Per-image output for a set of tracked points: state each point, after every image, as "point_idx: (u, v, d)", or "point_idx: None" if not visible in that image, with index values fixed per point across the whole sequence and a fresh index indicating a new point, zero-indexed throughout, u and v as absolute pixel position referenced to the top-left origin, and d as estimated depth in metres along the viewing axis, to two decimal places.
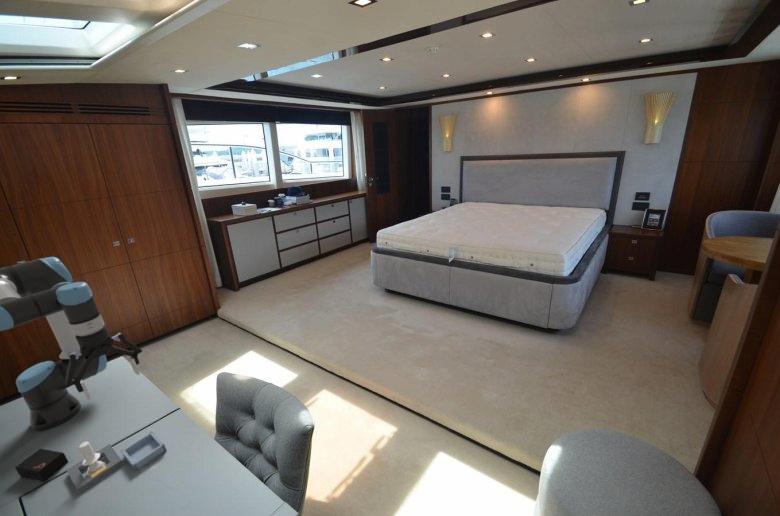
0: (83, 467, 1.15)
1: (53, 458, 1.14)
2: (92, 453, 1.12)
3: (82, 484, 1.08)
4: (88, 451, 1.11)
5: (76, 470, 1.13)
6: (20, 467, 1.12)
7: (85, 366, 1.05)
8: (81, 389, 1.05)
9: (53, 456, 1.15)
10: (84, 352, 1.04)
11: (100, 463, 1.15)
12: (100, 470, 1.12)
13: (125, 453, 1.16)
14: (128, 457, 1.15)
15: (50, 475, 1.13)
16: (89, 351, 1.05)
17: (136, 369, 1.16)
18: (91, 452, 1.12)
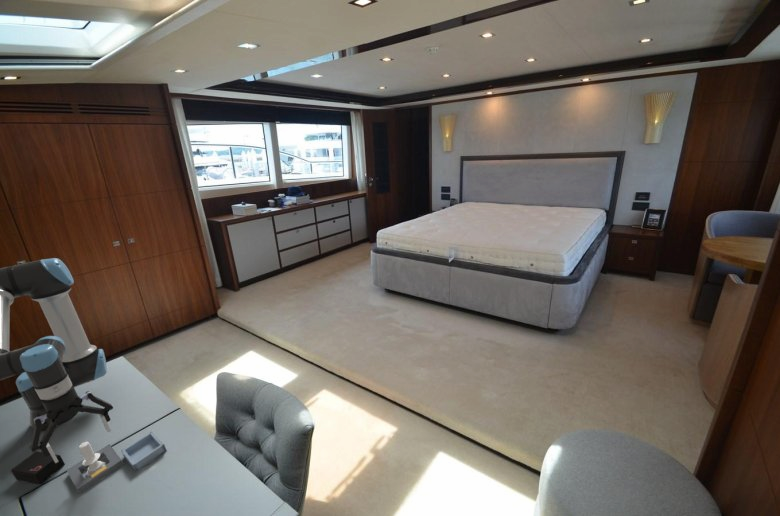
0: (83, 467, 1.15)
1: (49, 461, 1.14)
2: (92, 453, 1.12)
3: (82, 484, 1.08)
4: (88, 451, 1.11)
5: (76, 470, 1.13)
6: (16, 470, 1.11)
7: (51, 429, 1.03)
8: (47, 453, 1.03)
9: (49, 458, 1.14)
10: (50, 415, 1.02)
11: (100, 463, 1.15)
12: (100, 470, 1.12)
13: (125, 453, 1.16)
14: (128, 457, 1.15)
15: (46, 478, 1.12)
16: (56, 414, 1.03)
17: (107, 426, 1.14)
18: (91, 452, 1.12)
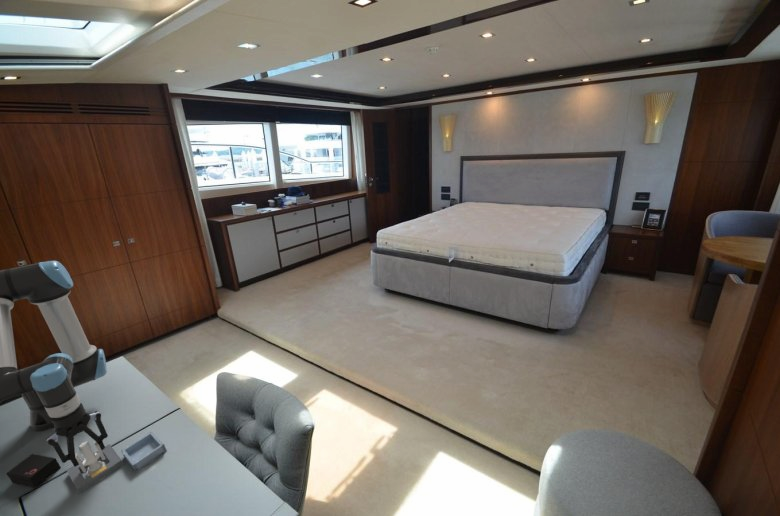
0: None
1: (45, 464, 1.12)
2: (92, 453, 1.12)
3: (82, 484, 1.08)
4: (88, 451, 1.11)
5: (76, 470, 1.13)
6: (11, 473, 1.10)
7: (71, 444, 1.07)
8: (76, 463, 1.09)
9: (45, 462, 1.13)
10: (60, 433, 1.05)
11: (100, 463, 1.15)
12: (100, 470, 1.12)
13: (125, 453, 1.16)
14: (128, 457, 1.15)
15: (41, 481, 1.11)
16: (64, 430, 1.05)
17: (101, 455, 1.14)
18: (91, 452, 1.12)
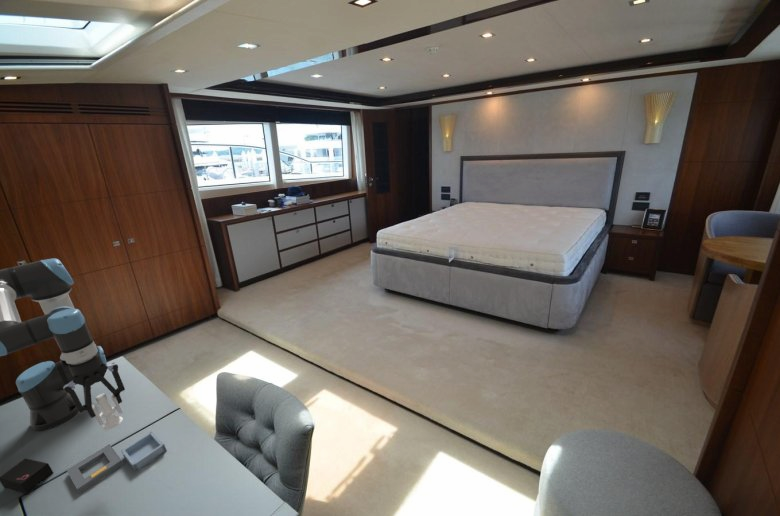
0: (83, 467, 1.15)
1: (37, 469, 1.11)
2: (109, 406, 1.09)
3: (82, 484, 1.08)
4: (105, 403, 1.08)
5: (76, 470, 1.13)
6: (3, 478, 1.09)
7: (87, 393, 1.04)
8: (93, 414, 1.06)
9: (37, 467, 1.12)
10: (77, 381, 1.02)
11: (117, 417, 1.12)
12: (100, 470, 1.12)
13: (125, 453, 1.16)
14: (128, 457, 1.15)
15: (33, 487, 1.09)
16: (81, 378, 1.02)
17: (118, 408, 1.11)
18: (108, 404, 1.09)
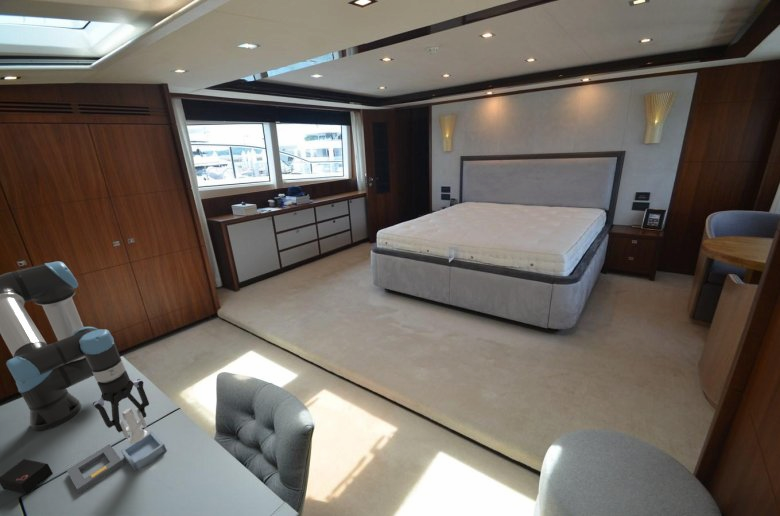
0: (83, 467, 1.15)
1: (36, 470, 1.11)
2: (135, 420, 1.14)
3: (82, 484, 1.08)
4: (131, 418, 1.13)
5: (76, 470, 1.13)
6: (2, 479, 1.08)
7: (115, 409, 1.09)
8: (120, 429, 1.11)
9: (37, 467, 1.11)
10: (106, 398, 1.06)
11: (142, 431, 1.16)
12: (100, 470, 1.12)
13: (125, 453, 1.16)
14: (128, 457, 1.15)
15: (33, 487, 1.09)
16: (110, 395, 1.07)
17: (143, 422, 1.16)
18: (134, 419, 1.14)
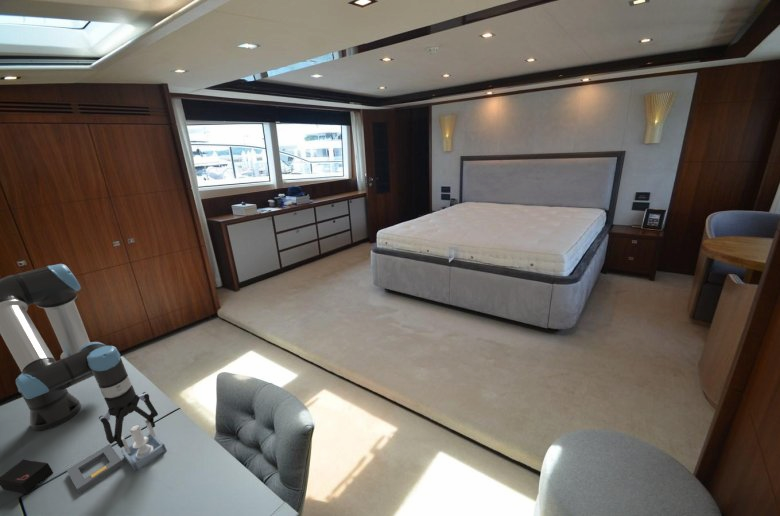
0: (83, 467, 1.15)
1: (37, 469, 1.11)
2: (142, 436, 1.17)
3: (82, 484, 1.08)
4: (139, 434, 1.15)
5: (76, 470, 1.13)
6: (2, 479, 1.08)
7: (120, 424, 1.10)
8: (122, 444, 1.12)
9: (37, 467, 1.11)
10: (113, 413, 1.08)
11: (148, 446, 1.19)
12: (100, 470, 1.12)
13: (125, 453, 1.16)
14: (128, 457, 1.15)
15: (34, 487, 1.09)
16: (117, 410, 1.09)
17: (152, 432, 1.19)
18: (141, 435, 1.16)
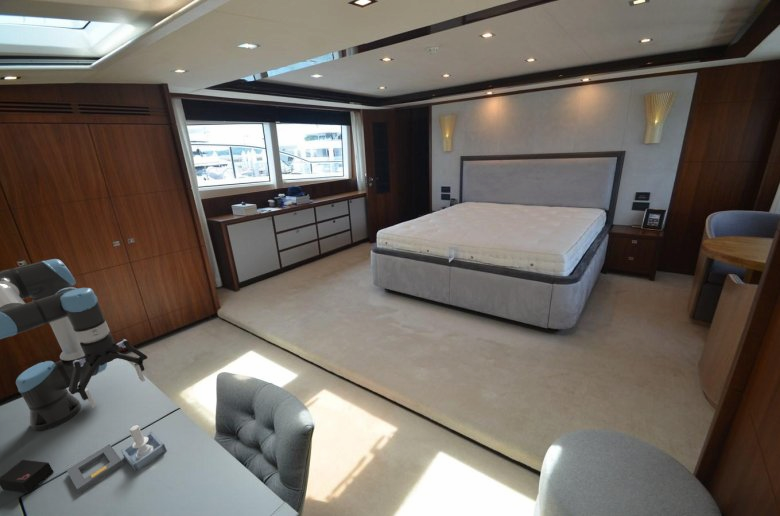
0: (83, 467, 1.15)
1: (38, 468, 1.11)
2: (141, 436, 1.17)
3: (82, 484, 1.08)
4: (138, 434, 1.16)
5: (76, 470, 1.13)
6: (2, 479, 1.08)
7: (90, 373, 1.03)
8: (86, 397, 1.03)
9: (37, 466, 1.12)
10: (89, 359, 1.02)
11: (148, 446, 1.19)
12: (100, 470, 1.12)
13: (125, 453, 1.16)
14: (128, 457, 1.15)
15: (35, 486, 1.10)
16: (94, 358, 1.03)
17: (141, 376, 1.14)
18: (141, 435, 1.16)
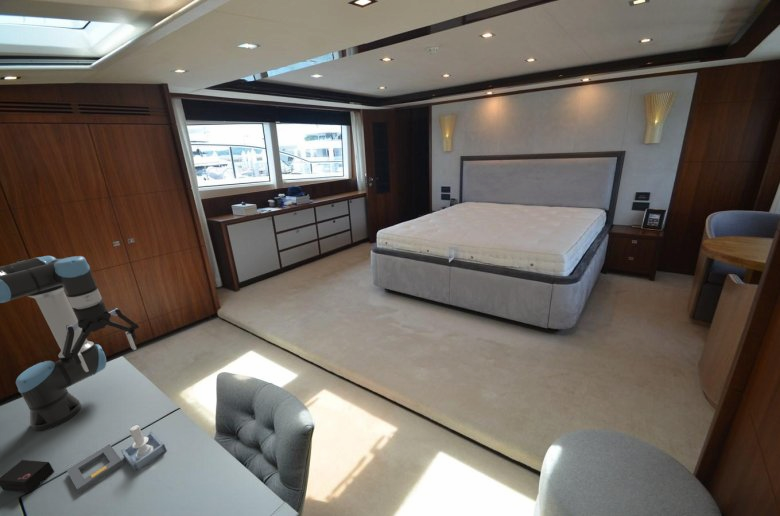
0: (83, 467, 1.15)
1: (38, 468, 1.11)
2: (142, 436, 1.17)
3: (82, 484, 1.08)
4: (138, 434, 1.16)
5: (76, 470, 1.13)
6: (2, 479, 1.08)
7: (83, 339, 1.07)
8: (79, 361, 1.08)
9: (38, 466, 1.12)
10: (82, 325, 1.07)
11: (148, 446, 1.19)
12: (100, 470, 1.12)
13: (125, 453, 1.16)
14: (128, 457, 1.15)
15: (36, 486, 1.10)
16: (87, 324, 1.08)
17: (133, 344, 1.19)
18: (141, 435, 1.16)
